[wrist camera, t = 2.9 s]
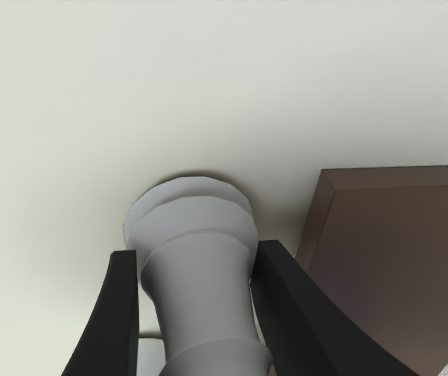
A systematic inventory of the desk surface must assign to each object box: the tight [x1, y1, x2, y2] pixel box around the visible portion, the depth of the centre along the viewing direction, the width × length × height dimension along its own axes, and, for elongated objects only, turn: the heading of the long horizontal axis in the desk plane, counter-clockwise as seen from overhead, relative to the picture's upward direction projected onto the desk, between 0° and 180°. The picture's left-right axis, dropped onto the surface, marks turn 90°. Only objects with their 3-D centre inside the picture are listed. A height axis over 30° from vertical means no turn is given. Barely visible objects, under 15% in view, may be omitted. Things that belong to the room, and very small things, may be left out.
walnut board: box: [269, 166, 448, 376], centre depth 19 cm, size 15×11×1 cm
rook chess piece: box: [123, 176, 274, 376], centre depth 11 cm, size 4×4×8 cm
